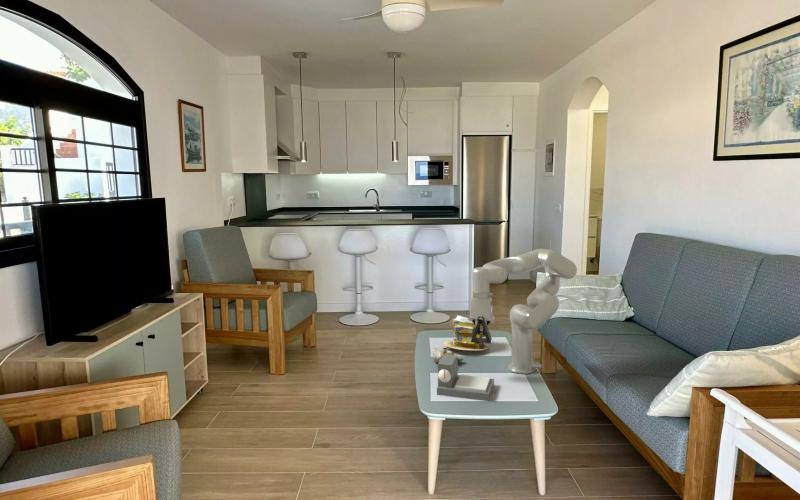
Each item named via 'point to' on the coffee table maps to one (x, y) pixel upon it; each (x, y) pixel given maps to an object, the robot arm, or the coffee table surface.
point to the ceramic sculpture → (439, 354)
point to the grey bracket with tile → (461, 381)
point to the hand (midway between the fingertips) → (481, 333)
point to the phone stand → (486, 332)
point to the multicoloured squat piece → (465, 335)
